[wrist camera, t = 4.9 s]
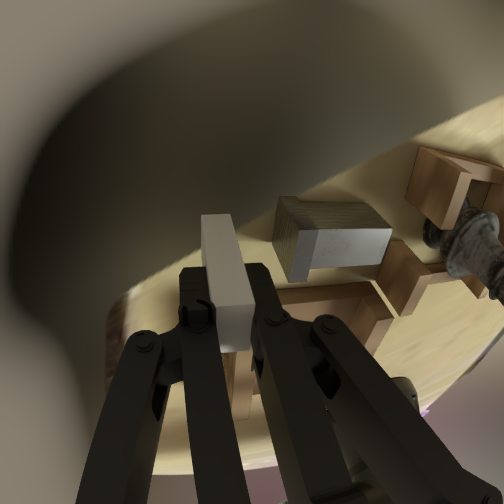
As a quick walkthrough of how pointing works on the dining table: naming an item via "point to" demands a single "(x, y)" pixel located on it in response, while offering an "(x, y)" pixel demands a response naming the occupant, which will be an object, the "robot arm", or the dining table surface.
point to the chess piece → (471, 247)
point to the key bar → (327, 236)
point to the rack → (307, 309)
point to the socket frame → (437, 223)
